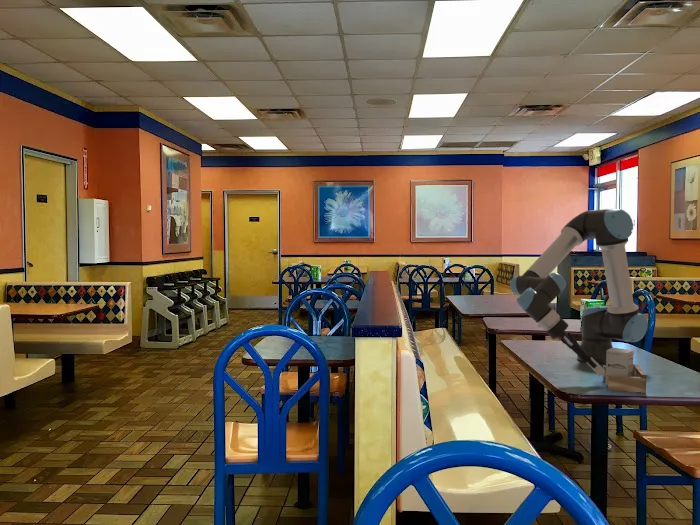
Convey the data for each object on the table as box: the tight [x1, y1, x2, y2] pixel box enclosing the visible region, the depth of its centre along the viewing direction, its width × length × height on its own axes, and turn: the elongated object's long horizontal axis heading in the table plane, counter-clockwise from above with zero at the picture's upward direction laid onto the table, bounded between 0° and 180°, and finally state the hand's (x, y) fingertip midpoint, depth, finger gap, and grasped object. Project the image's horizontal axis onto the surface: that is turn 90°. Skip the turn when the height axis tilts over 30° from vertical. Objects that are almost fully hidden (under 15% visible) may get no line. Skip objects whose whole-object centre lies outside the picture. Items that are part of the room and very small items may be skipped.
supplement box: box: [605, 347, 635, 386], centre depth 204 cm, size 7×7×13 cm
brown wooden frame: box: [602, 363, 647, 394], centre depth 203 cm, size 17×12×6 cm
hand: (602, 373), depth 205 cm, fingers closed
